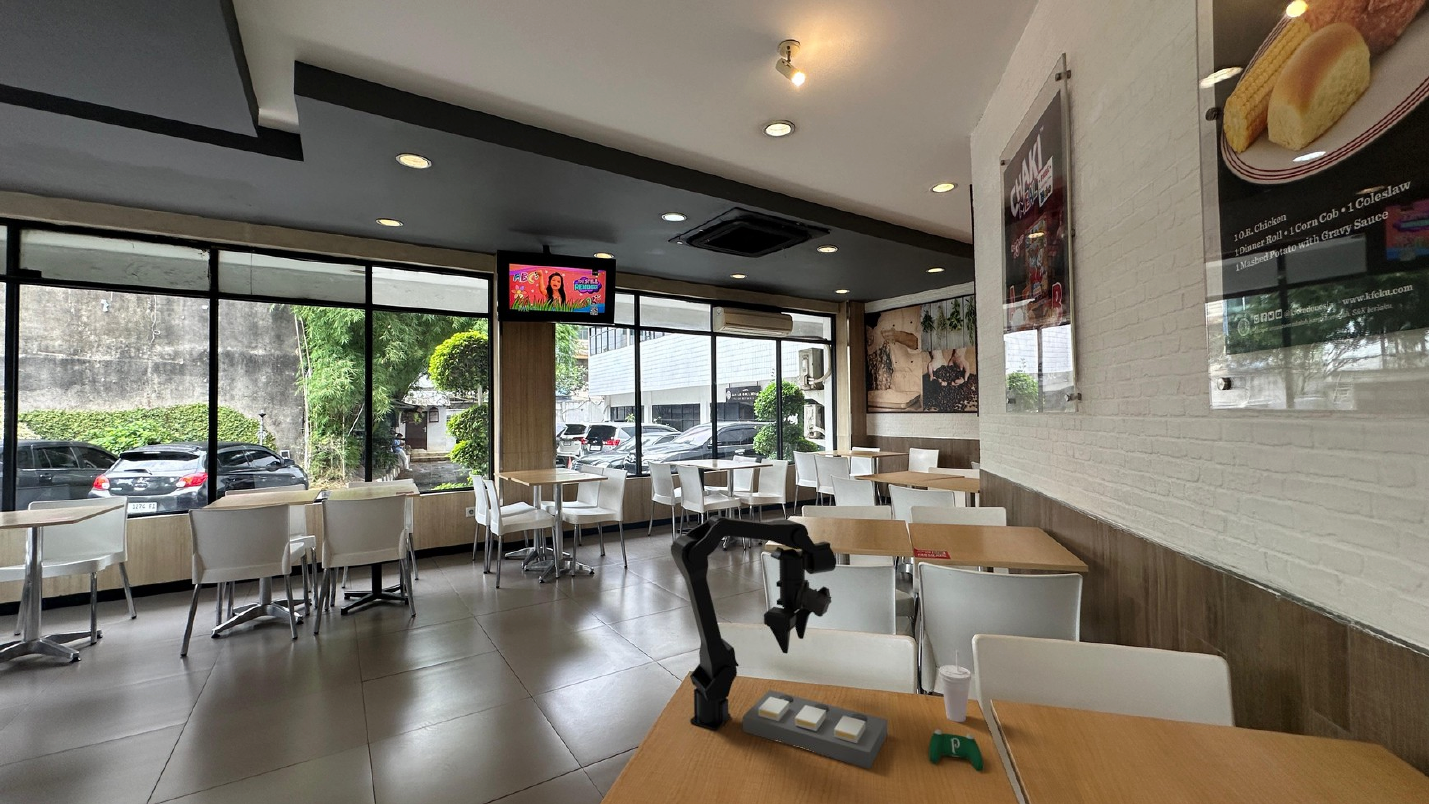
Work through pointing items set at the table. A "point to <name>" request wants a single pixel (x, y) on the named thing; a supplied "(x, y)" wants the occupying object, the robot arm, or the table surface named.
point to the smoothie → (955, 690)
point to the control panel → (819, 730)
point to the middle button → (810, 718)
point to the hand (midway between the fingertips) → (793, 645)
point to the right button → (849, 729)
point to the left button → (773, 708)
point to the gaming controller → (955, 748)
